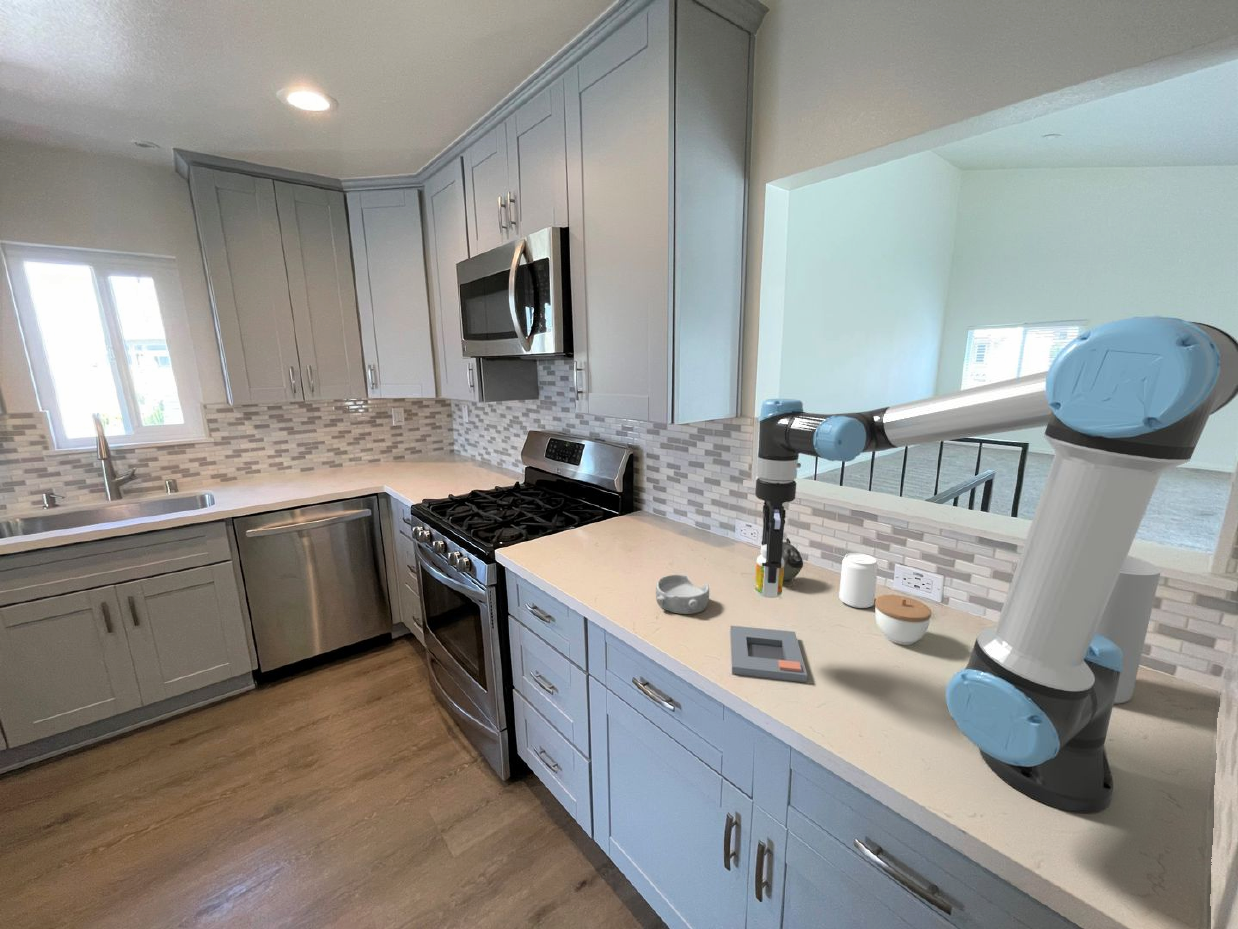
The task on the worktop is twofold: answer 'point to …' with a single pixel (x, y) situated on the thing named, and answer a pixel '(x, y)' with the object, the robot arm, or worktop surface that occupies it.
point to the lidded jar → (902, 618)
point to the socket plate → (766, 654)
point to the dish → (681, 595)
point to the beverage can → (858, 580)
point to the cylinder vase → (1130, 618)
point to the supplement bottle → (760, 574)
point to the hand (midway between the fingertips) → (768, 589)
